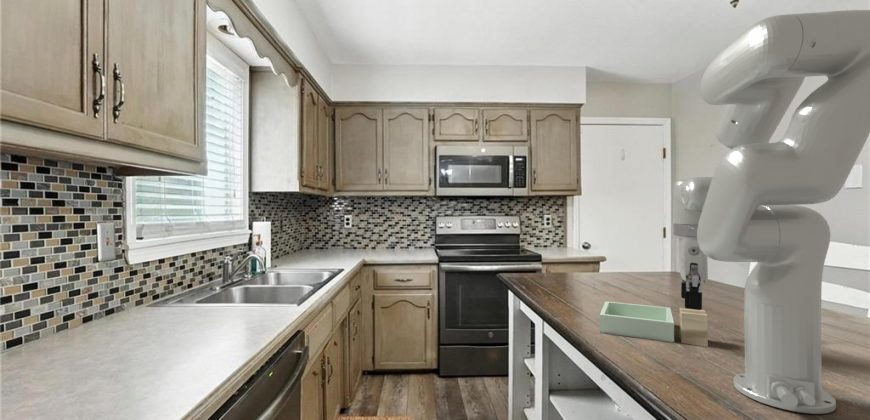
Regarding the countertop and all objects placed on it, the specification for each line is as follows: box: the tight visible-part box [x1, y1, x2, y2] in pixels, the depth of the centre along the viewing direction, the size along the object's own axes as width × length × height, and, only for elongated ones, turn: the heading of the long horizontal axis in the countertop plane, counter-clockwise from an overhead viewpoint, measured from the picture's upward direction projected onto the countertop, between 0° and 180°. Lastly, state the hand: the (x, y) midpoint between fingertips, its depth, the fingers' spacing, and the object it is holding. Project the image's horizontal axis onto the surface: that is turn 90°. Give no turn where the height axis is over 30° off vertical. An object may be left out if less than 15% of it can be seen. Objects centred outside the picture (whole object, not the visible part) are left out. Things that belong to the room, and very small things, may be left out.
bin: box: [599, 301, 675, 343], centre depth 101 cm, size 16×16×4 cm
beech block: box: [679, 307, 709, 347], centre depth 91 cm, size 5×5×7 cm
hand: (690, 303), depth 92 cm, fingers open, 9 cm apart
